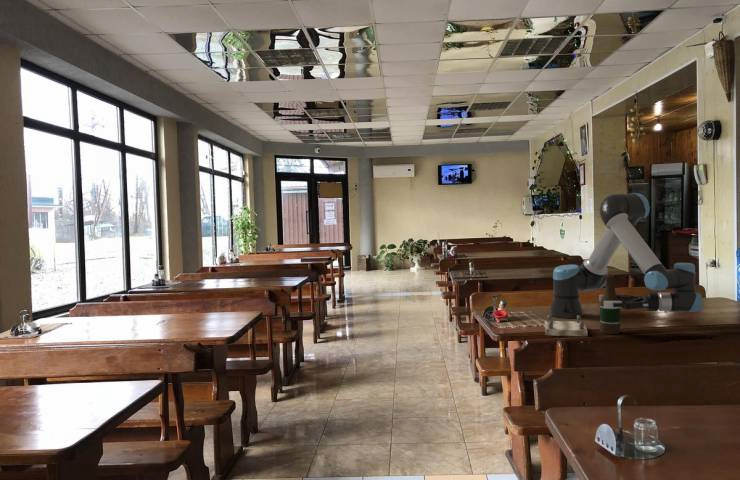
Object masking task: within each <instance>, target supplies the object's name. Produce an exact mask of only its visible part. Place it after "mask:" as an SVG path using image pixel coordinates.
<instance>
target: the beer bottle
mask: <svg viewBox="0 0 740 480" xmlns="http://www.w3.org/2000/svg"><path fill="white" fill-rule="evenodd" d="M605 278H606V285H605V286H604V287H605V288H604V289H605V290H604V294H603V295H604V296H603V297H602V299H601V301H600V300H599V302H600V303H599V329H600V330H599V331H600V332H601V333H602V334H604V335H618V334H620V333H621V308H604V301H619V298H618V297H617V294H616V285H615V278H616V275H615V274H612V273H611V274H609V273H608V275H606V276H605Z"/></svg>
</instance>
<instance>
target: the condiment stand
mask: <svg viewBox="0 0 740 480" xmlns="http://www.w3.org/2000/svg"><path fill="white" fill-rule="evenodd" d="M544 331H545V335H546V336H557V337H559V336H562V337H588V329H587V326H586V324H585V323H584V321H582V317H581V316H580V315H577V318H576V321H573V320H572V321H570V320H567V321H566V320H553V319H552V316H551V315H550V314H547V320H544Z"/></svg>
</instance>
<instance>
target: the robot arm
mask: <svg viewBox="0 0 740 480" xmlns="http://www.w3.org/2000/svg"><path fill="white" fill-rule="evenodd" d="M650 209H651V208H650V204H649V200H648V199H647V197H646V196H645V195H644V194H641V193H635V192H632V193H631V192H630V193H613V194H609V195H608V196H606V197H604V198H603V200H602V201H601V203H600V206H599V215H600V218H601V221H602V222H603V224H604V226H605V230H604V231H603V233H602V235H601V236H600V238H599V240H598V242H597V244H596V245H595V247H594V249H593V251H592V252H591V255H590V256H589V257H588V258H585V259H584V260H583V261H582V263H581V265H580V266H579V265H577V264H564V265H563V264H562V265H558V266H556V267H555V268H554V269H553V274H552V280H553V281H552V282H553V283H552V284H553V286H552V287H553V291H552V293H553V299H552V301H551V305H550V308H549V315H551V317H555V318H559V319H560V318H562V319H574V318H575V319H577V315H580V316H581V318H582V317H584V309H583V306H582V304H581V300H580V292H588V291H597V290H600V289H602V288H603V287H605V285H606V278H605V276H606V275H608V274H609V273H608V265H609V263H610V261H611V260H612V259H613V256H614V255H615V253H616V251H617V250H618V249H619V246H620V245H621V244H622V245H623V247H624V249H625V250H626V251H627V253H628V254H629V255H630V257H631V258H632V260H633V261H634V262H635V263H636V265H637V266H638V268H639V269H640V270H641V272H642V273H643V274H644V278H643V281H644V285H645V286H646V288H647V289H648V290H650V291H652V292H647V293H646V295H645V297H643V296H642V295H630V294H620V293H617V294H616V295H617V297H618V298H619V301H604V308H620V309H623V310H635V309H646V310H647V311H648V312H664V313H665V314H667V313H668V312H679V313H680V312H681V313H682V312H684V313H685V312H687V313H692V312H693V313H694V312H700V311H701V310H702V308H703V298H702V295H701V294H700V293H699V292H697V291H696V275H697V274H696V266H695V264H694V263H691V262H676V263H674V264H673V269H667V268H666V267H665V266H664V264H662V262H661V261H660V260H659V258H658V256H656V254H655V253H654V251H653V250H652V249H651V248H650V246H649V245H648V244H647V243H646V241H645V240H644V239H643V238H642V236H641V235H640V233H639V232H638V231H637V229H636V228H635V227H636V225H637V223H638V222H639V221H641V220H644V219H646V218H647V217H648V216H649V214H650ZM672 289H673V292H659V291H664V290H672ZM654 291H658V292H654ZM603 296H604V294H599V302H600V301H601V299H602V297H603Z"/></svg>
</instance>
